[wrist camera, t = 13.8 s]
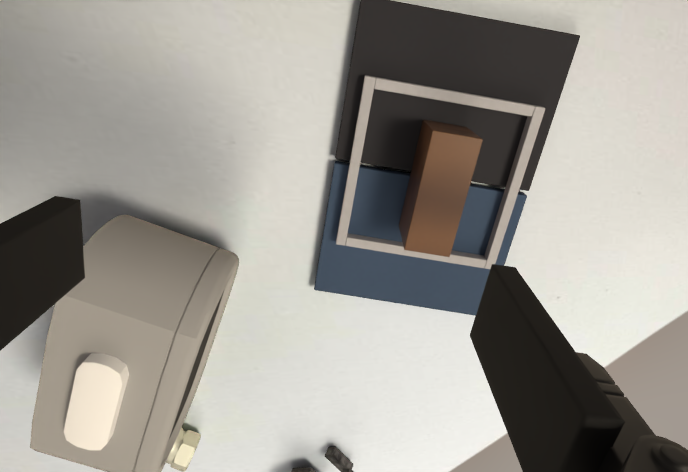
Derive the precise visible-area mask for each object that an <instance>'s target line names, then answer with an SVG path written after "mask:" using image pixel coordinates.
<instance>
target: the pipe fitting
mask: <svg viewBox="0 0 688 472" xmlns="http://www.w3.org/2000/svg"><path fill="white" fill-rule="evenodd" d="M200 438H201V435H200V434H199V433H196V432H194V431H191V430H187V431H184V430H183V428H182V427H181V430H180V432H179V434H178V437H177V439H176V441H175V443H174V446H173V448H172V450H171V452H170V454H169V456H168V459H167V461H166V463H168V464H171V467H172V468H175V469H177V470H180V471H185V470H186V469H187V467H188V465H189V463H190V461H191V459H192V457H193V455H194V452H195V450H196V448H197V445H198V443H199V440H200Z"/></svg>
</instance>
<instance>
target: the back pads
mask: <svg viewBox="0 0 688 472" xmlns="http://www.w3.org/2000/svg"><path fill="white" fill-rule="evenodd" d="M579 38H580V36H579V35H574V34H569V33H563V32H558V31H552V30H547V29H542V28H536V27H531V26H525V25H520V24H515V23H509V22H504V21H498V20H493V19H487V18H482V17H477V16H471V15H466V14H460V13H455V12H450V11H444V10H439V9H433V8H428V7H422V6H417V5H412V4H406V3H401V2H395V1H390V0H361V2H360V8H359V14H358V21H357V27H356V33H355V39H354V45H353V52H352V58H351V64H350V70H349V76H348V82H347V89H346V95H345V101H344V107H343V113H342V120H341V126H340V132H339V138H338V144H337V151H336V158H339V159H345V160H350V163H347V162H341V161H335V163H334V169H333V175H332V182H331V188H330V194H329V200H328V206H327V213H326V219H325V225H324V231H323V237H322V244H321V250H320V256H319V262H318V268H317V275H316V281H315V287H314V290H319V291H325V292H331V293H338V294H344V295H350V296H357V297H363V298H369V299H375V300H382V301H388V302H394V303H401V304H407V305H413V306H419V307H426V308H432V309H438V310H445V311H451V312H457V313H463V314H470V315H476V314H477V311H478V307H479V304H480V301H481V298H482V295H483V291H484V288H485V285H486V282H487V278H488V275H489V272H490V269H491V266H492V264H496V265H502V266H504V264H505V261H506V258H507V255H508V252H509V249H510V246H511V243H512V240H513V237H514V234H515V231H516V228H517V225H518V222H519V219H520V216H521V213H522V210H523V207H524V204H525V201H526V198H527V196H526V195H525V194H524V193H523V192H519V189H521V190H526V191H529V189H530V186H531V183H532V180H533V177H534V174H535V171H536V168H537V165H538V162H539V159H540V156H541V153H542V150H543V147H544V144H545V141H546V138H547V135H548V132H549V129H550V126H551V123H552V120H553V117H554V114H555V110H556V107H557V104H558V101H559V98H560V95H561V92H562V89H563V86H564V83H565V80H566V77H567V74H568V71H569V68H570V65H571V62H572V59H573V56H574V53H575V50H576V47H577V44H578V41H579ZM423 120H430V121H435V122H441V123H447V124H452V125H458V126H464V127H467V128H469V129H470V130H471V131H473V132H474V133H475V134H477V135H478V136H479V137H481V138H482V139H483V141H482V144H481V148H480V152H479V155H478V159H477V162H476V166H475V169H474V173H473V176H472V180H471V181H474V182H479V183H485V184H491V185H497V186H503V187H505V189H500V188H494V187H488V186H482V185H477V184H471V183H470V187H469V191H468V194H467V198H466V201H465V205H464V208H463V212H462V215H461V219H460V222H459V226H458V230H457V233H456V237H455V240H454V244H453V247H452V251H451V254H450V257H444V256H438V255H432V254H426V253H420V252H414V251H408V250H404V246H403V242H402V238H401V233H400V229H399V222H400V218H401V214H402V209H403V205H404V201H405V196H406V192H407V187H408V183H409V179H410V174H411V173H406V172H400V171H394V170H388V169H383V168H377V167H371V166H365V165H360V162H362V163H368V164H374V165H380V166H386V167H391V168H397V169H403V170H409V171H411V170H412V166H413V161H414V157H415V153H416V148H417V144H418V139H419V135H420V131H421V126H422V122H423Z"/></svg>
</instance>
